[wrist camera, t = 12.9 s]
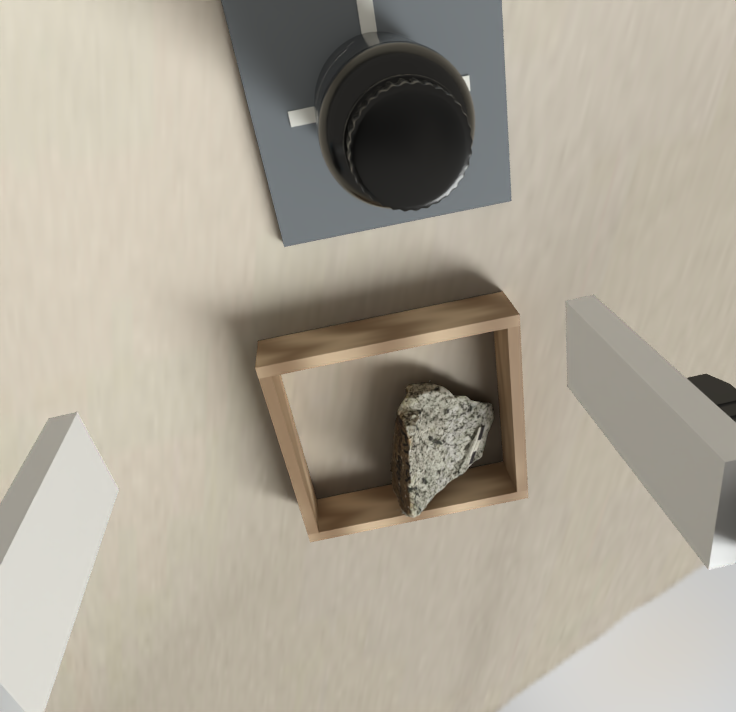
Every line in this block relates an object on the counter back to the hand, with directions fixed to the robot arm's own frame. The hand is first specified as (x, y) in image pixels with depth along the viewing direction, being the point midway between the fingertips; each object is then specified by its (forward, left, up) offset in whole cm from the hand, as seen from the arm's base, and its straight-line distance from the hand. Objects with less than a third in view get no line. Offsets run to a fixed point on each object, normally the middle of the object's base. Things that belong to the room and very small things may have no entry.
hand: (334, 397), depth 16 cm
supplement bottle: (+4, +4, -22) cm, 22 cm away
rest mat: (+5, +4, -22) cm, 23 cm away
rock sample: (+5, -19, -23) cm, 30 cm away
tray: (+3, -17, -22) cm, 28 cm away
